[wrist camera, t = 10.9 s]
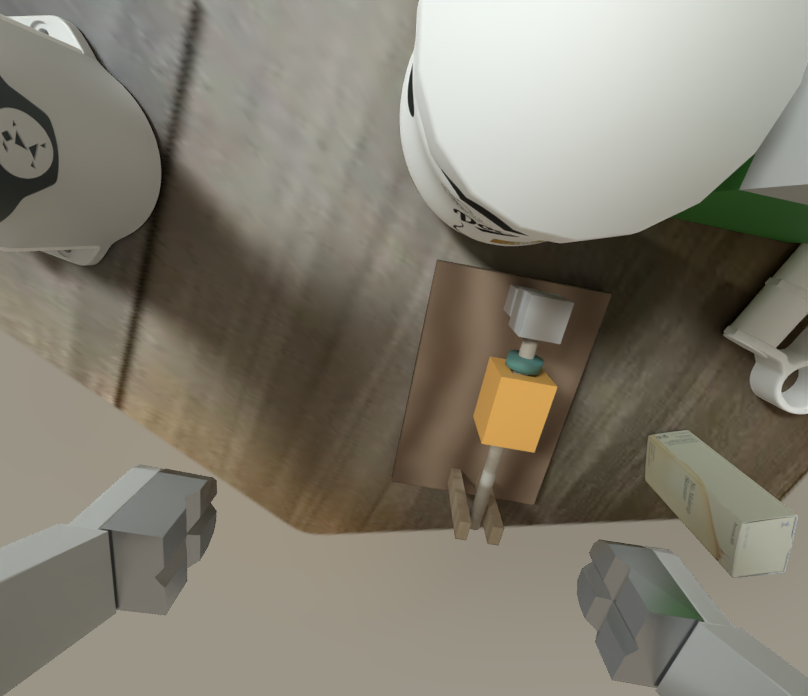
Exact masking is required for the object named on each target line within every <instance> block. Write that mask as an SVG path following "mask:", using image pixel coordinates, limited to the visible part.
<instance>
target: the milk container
mask: <svg viewBox="0 0 808 696" xmlns="http://www.w3.org/2000/svg"><path fill="white" fill-rule="evenodd" d="M807 63H808V0H419V3H418V8H417V24H416V40H415V47H414V51H413V53H412V56H411V58H410V62H409V65H408V68H407V71H406V76H405V80H404V84H403V89H402V96H401V104H400V133H401V142H402V148H403V153H404V157H405V161H406V164H407V167H408V170H409V173H410V175H411V178H412V180H413V182H414V184H415V186H416V188H417V190H418V192H419V193H420V195H421V197H422V198H423V200H424V201H425V202H426V204H427V205H428V206H429V208H430V209H431V210H432V211H433V212H434V213H435V214H436V215H437V216H438V217H439V218H440V219H441V220H442V221H443V222H445V223H446V224H447V225H449V226H450V227H451V228H453V229H455V230H456V231H458V232H459V233H461V234H463V235H465V236H467V237H470V238H472V239H475V240H477V241H481V242H484V243H488V244H493V245H500V246H524V245H532V244H538V243H542V242H546V241H550V242H555V243H568V242H576V241H584V240H592V239H600V238H608V237H615V236H623V235H631V234H634V233H638V232H640V231H642V230H644V229H647V228H649V227H651V226H653V225H655V224H657V223H659V222H661V221H663V220H665V219H667V218H669V217H671V216H673V215H676V214H678V213H680V212H682V211H684V210H686V209H688V208H690V207H692V206H694V205H696V204H698V203H700V202H701V201H702V200H703V199H705V198H706V197H707V196H708V195H709V194H710V193H711V192H712V191H713V190H715V189H716V188H717V187H718V186H719V185H720V184H721V183H722V182H724V181H725V180H726V179H727V178H728V177H729V176H730V175H731V174H732V173H734V172H735V171H736V170H737V169H738V168H739V167H740V166H741V165H742V164H744V163H745V162H746V161H747V160H748V159H749V158H750V157H751V156H752V155H754V154H755V153H756V151H757V150H758V148H759V147H760V145H761V144H762V142H763V141H764V139H765V137H766V136H767V134H768V133H769V131H770V130H771V128H772V127H773V125H774V124H775V122H776V121H777V119H778V118H779V116H780V115H781V113H782V112H783V110H784V109H785V107H786V105H787V104H788V102H789V101H790V99H791V98H792V96H793V95H794V93H795V92H796V90H797V89H798V87H799V86H800V84H801V81H802V78H803V75H804V72H805V69H806V66H807Z"/></svg>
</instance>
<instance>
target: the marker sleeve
mask: <svg viewBox="0 0 808 696" xmlns="http://www.w3.org/2000/svg"><path fill="white" fill-rule="evenodd" d="M505 362H506V359H502V358H496V357H491V356H490V358H489V361H488V365H487V369H486V372H485V376H484V379H483V383H482V387H481V390H480V394H479V397H478V401H477V405H476V408H475V412H474V415H473V417H474V421H475V424H476V427H477V430H478V434H479V437H480V440H481V443H482V444H486V445H492V446H498V447H504V448H509V449H515V450H521V451H527V452H533V453H534V452H535V450H536V447H537V444H538V441H539V438H540V435H541V433H542V430H543V427H544V424H545V421H546V418H547V416H548V413H549V410H550V407H551V404H552V401H553V399H554V396H555V393H556V390H557V385H556V384H555V383H554V382H553V381H552V380H551V378H550V377H549V376H548V375H547V374H546V373H545V372H544V370H543V369H541V372H540V374H539V375H528V376H525V375H520V374H514V373H513V371H514V370H512V369H510V368H509V367H507V366H506V364H505Z"/></svg>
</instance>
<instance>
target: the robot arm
mask: <svg viewBox="0 0 808 696" xmlns="http://www.w3.org/2000/svg"><path fill="white" fill-rule="evenodd" d="M48 33H49V35H47V34H48ZM160 185H161V162H160V155H159V150H158V146H157V142H156V139H155V136H154V133H153V131H152V128H151V126H150V124H149V122H148V120H147V118H146V116H145V114H144V113H143V111H142V109H141V108H140V106H139V105H138V104H137V102H136V101H135V99H134V98H133V97H132V96H131V94H130V93H129V92H128V91H127V90H126V89H125V88H124V87H123V86H122V85H121V84H120V83H119V82H118V81H117V80H116V79H115V78H114V77H113V76H112V75H111V74H109V73H108V72H107V71H106V70H105V69H104V68H103V67H102V66H101V64H100V63H99V62H98V61H97V59H96V57H95V55H94V54H93V52H92V50H91V48H90V47H89V45H88V43H87V41H86V40H85V38H84V37H83V35H82V34H81V32H80V31H79V30H78V29H77V27H76V26H75V25H74V24H72V23H71V22H69V21H67V20H64V19H62V18H60V17H57V16H52V15H46V16H10V17H6V16H4V15H2V14H0V251H5V252H24V251H42V252H45V253H47V254H50V255H53V256H56V257H58V258H61V259H64V260H66V261H69V262H72V263H74V264H77V265H83V266H86V265H95V264H97V263H98V262H99V261H100V260H101V259H102V258H103V257H104V255H105V254H106V252H107V251H108V249H109V248H110V246H111V245H112V244H113V243H114V242H116V241H118V240H120V239H122V238H124V237H126V236H128V235H130V234H131V233H133V232H134V231H136V230H137V229H138V228H139V227H140V226H142V224H143V223H144V222H145V221H146V220H147V219H148V217H149V216H150V214H151V213H152V211H153V209H154V207H155V204H156V202H157V199H158V196H159V191H160ZM216 483H217V482H216V480H215V479H214V478H213V477H207V476H202V475H196V474H191V473H186V472H180V471H175V470H170V469H161V468H156V467H151V466H145V465H138V466H135V467H133V468H131V469H130V470H129V471H128V472H127V473H125V474H124V475H123V476H122V477H121V478H120V479H119V480H118V481H116V482H115V483H114V484H113V485H112V486H111V487H110V488H109V489H107V490H106V491H105V492H104V493H103V494H102V495H101V496H100V497H98V498H97V499H96V500H95V501H94V502H93V503H92V504H91V505H89V506H88V507H87V508H86V509H85V510H84V511H83V512H82V513H80V514H79V515H78V516H77V517H76V518H75V519H74V520H73V521H71V522H70V523H69V524H68V525H65V524H57V525H54V526H52V527H49V528H47V529H45V530H42V531H40V532H37V533H35V534H32V535H30V536H28V537H25V538H23V539H20V540H18V541H15V542H13V543H11V544H8V545H6V546H3V547H1V548H0V696H3V695H4V694H6V693H7V692H8V691H10V690H11V689H13V688H14V687H15V686H17V685H18V684H19V683H21V682H22V681H23V680H25V679H26V678H28V677H29V676H30V675H32V674H33V673H34V672H36V671H37V670H39V669H40V668H41V667H43V666H44V665H46V664H47V663H48V662H50V661H51V660H52V659H54V658H55V657H56V656H58V655H59V654H61V653H62V652H63V651H65V650H66V649H67V648H69V647H70V646H72V645H73V644H74V643H76V642H77V641H78V640H80V639H81V638H83V637H84V636H85V635H87V634H88V633H89V632H91V631H92V630H93V629H95V628H96V627H98V626H99V625H100V624H102V623H103V622H104V621H106V620H107V619H109V618H110V617H111V616H112V615H114V614H115V613H116V610H123V611H132V612H141V613H150V614H158V615H166V614H167V613H168V611H169V609H170V608H171V606H172V604H173V603H174V601H175V600H176V598H177V596H178V595H179V593H180V592H181V590H182V588H183V587H184V585H185V584H186V582H187V568H188V567H190V566H192V565H193V564H195V563H196V562H198V561H200V559H201V558H202V556H203V554H204V553H205V551H206V549H207V547H208V545H209V543H210V540H211V538H212V535H213V532H214V528H215V523H216V510H215V508H214V507H213V506H212V504H211V501H212V500H213V498H214V497H215V495H216V494H217V484H216ZM589 553H590V556H591V559H592V561H593V562H591V563H590V564H588V565H587V566H585V567H584V568H582V570H581V573H580V575H579V578H578V582H577V595H578V600H579V604H580V607H581V610H582V612H583V614H584V617H585V619H586V620H587V621H588V622H589V623H590V624H591V625H592V626H593V627H594V628H595V629H596V630H597V636H596V640H595V642H596V645H597V647H598V649H599V652H600V654H601V656H602V659H603V661H604V663H605V665H606V667H607V670H608V672H609V674H610V677H611V679H612V680H615V681H620V682H626V683H632V684H637V685H643V686H648V687H654V688H657V689H656V692H657V693H658V694H659V695H660V696H808V677H806V676H805V675H804V674H802V673H801V672H800V671H798V670H797V669H796V668H794V667H793V666H792V665H790V664H789V663H788V662H786V661H785V660H784V659H782V658H781V657H780V656H778V655H777V654H776V653H774V652H773V651H771V650H770V649H769V648H767V647H766V646H765V645H763V644H762V643H761V642H760V641H758V640H757V639H755V638H754V637H753V636H751V635H750V634H749V633H747V632H746V631H745V630H743V629H742V628H737V627H734V626H733V625H732V624H731V623H730V621H729V620H728V619H727V618H726V616H725V615H724V614H723V613H722V611H721V610H720V609H719V608H718V606H717V605H716V604H715V602H714V601H713V600H712V599H711V598H710V596H709V595H708V594H707V592H706V591H705V590H704V589H703V587H702V586H701V585H700V584H699V582H698V581H697V580H696V579H695V577H694V576H693V575H692V573H691V572H690V571H689V570H688V568H687V567H686V566H685V565H684V563H683V562H682V561H681V560H680V558H679V557H678V556H677V555H676V554H674V553H673V552H672V551H670V550H668V549H661V548H654V547H647V546H645V547H643V546H638V545H632V544H625V543H619V542H611V541H605V540H598V541H597V542H595V543H594V544H593V546H592V548H591V550H590V552H589Z"/></svg>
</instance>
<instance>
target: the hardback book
mask: <svg viewBox="0 0 808 696" xmlns="http://www.w3.org/2000/svg"><path fill="white" fill-rule="evenodd" d="M671 217H672V218H677V219H681V220H686V221H690V222H695V223H700V224H704V225H709V226H714V227H718V228H723V229H727V230H732V231H737V232H741V233H746V234H751V235H755V236H760V237H764V238H769V239H774V240H778V241H783V242H790V243H805V244H808V63H807V66H806V69H805V72H804V75H803V78H802V81H801V84H800V86H799V87H798V89H797V90H796V92H795V93H794V95H793V96H792V98H791V99H790V101H789V102H788V104H787V105H786V107H785V109H784V110H783V112H782V113H781V115H780V116H779V118H778V119H777V121H776V122H775V124H774V125H773V127H772V128H771V130H770V131H769V133H768V134H767V136H766V137H765V139H764V141H763V142H762V144H761V145H760V147H759V148H758V150H757V151H756V153H755V154H754V155H752V156H751V157H750V158H749V159H748V160H747V161H746V162H745V163H744V164H742V165H741V166H740V167H739V168H738V169H737V170H736V171H735V172H734V173H732V174H731V175H730V176H729V177H728V178H727V179H726V180H725V181H724V182H722V183H721V184H720V185H719V186H718V187H717V188H716V189H715V190H713V191H712V192H711V193H710V194H709V195H708V196H707V197H706V198H705V199H703V200H702V201H701V202H700V203H698V204H696V205H694V206H692V207H690V208H688V209H686V210H684V211H682V212H680V213H678V214H676V215H673V216H671Z"/></svg>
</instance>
